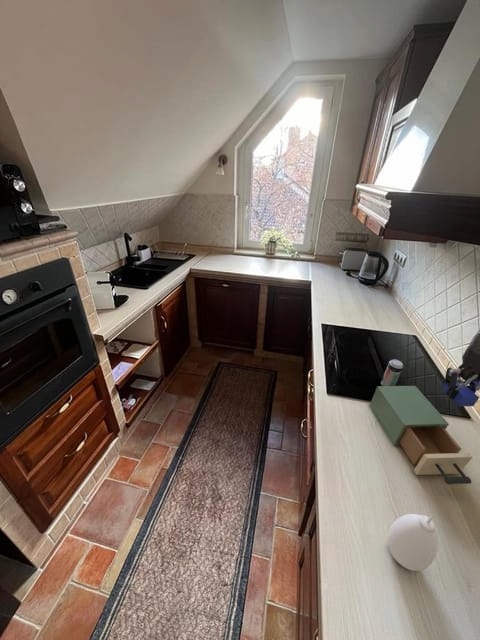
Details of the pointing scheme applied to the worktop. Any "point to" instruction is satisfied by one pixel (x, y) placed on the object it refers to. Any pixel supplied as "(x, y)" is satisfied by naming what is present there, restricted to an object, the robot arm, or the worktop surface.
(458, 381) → the robot arm
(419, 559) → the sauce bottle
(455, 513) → the worktop surface
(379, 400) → the cabinet
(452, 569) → the worktop surface
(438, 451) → the drawer
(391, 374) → the beer can
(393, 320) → the worktop surface
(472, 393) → the blue block
